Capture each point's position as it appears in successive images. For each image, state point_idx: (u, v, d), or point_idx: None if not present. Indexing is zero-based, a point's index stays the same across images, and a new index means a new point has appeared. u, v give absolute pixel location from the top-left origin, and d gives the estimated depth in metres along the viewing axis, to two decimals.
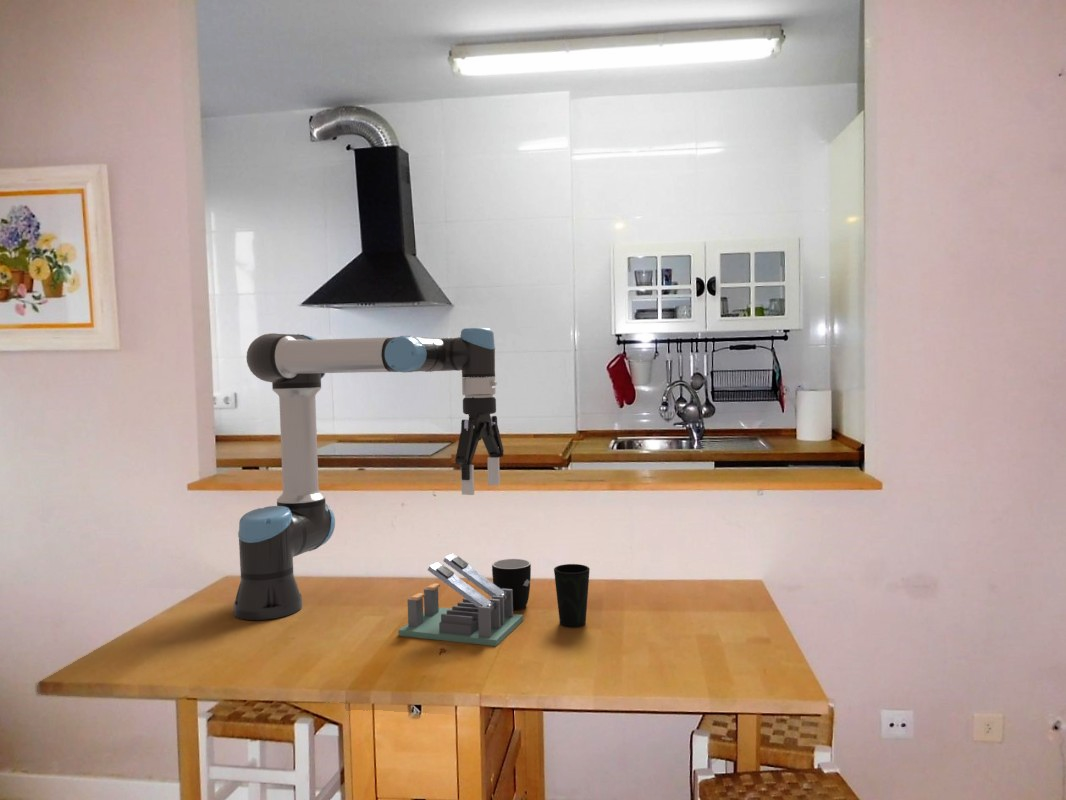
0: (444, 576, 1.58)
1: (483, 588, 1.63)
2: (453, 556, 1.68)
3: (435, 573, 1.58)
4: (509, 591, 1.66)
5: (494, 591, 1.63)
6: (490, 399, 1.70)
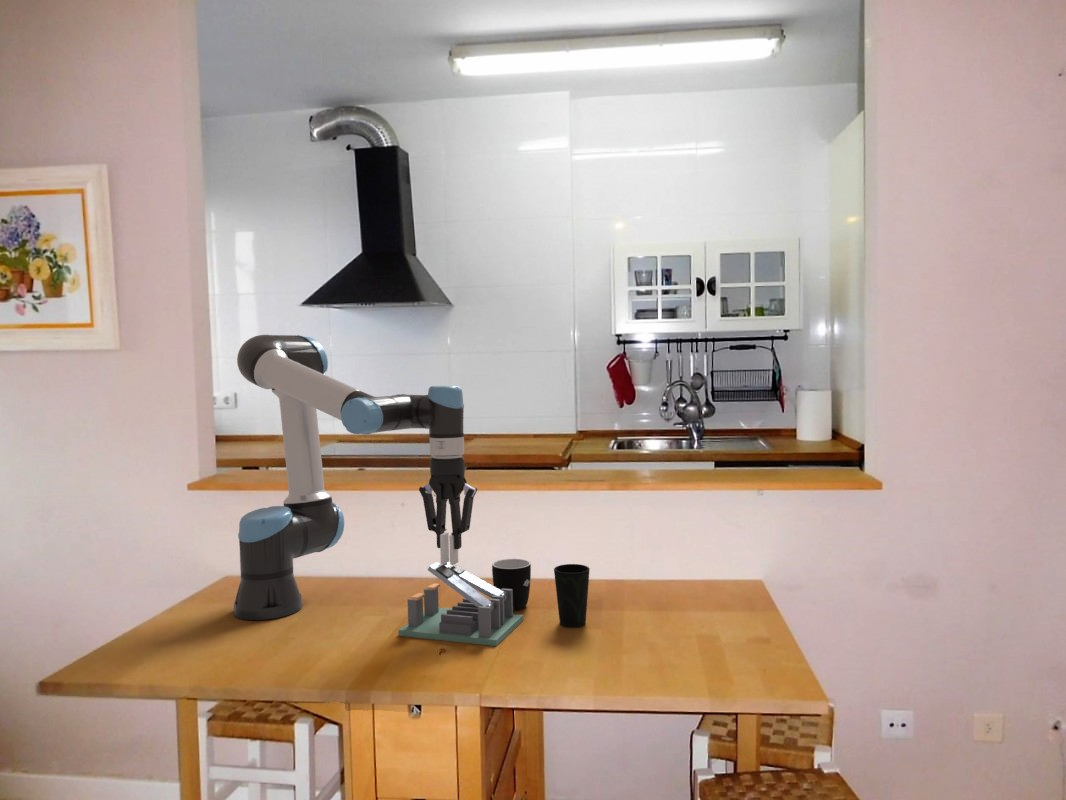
0: (444, 576, 1.58)
1: (482, 590, 1.63)
2: (449, 564, 1.69)
3: (435, 573, 1.58)
4: (509, 591, 1.66)
5: (493, 592, 1.63)
6: (434, 461, 1.64)
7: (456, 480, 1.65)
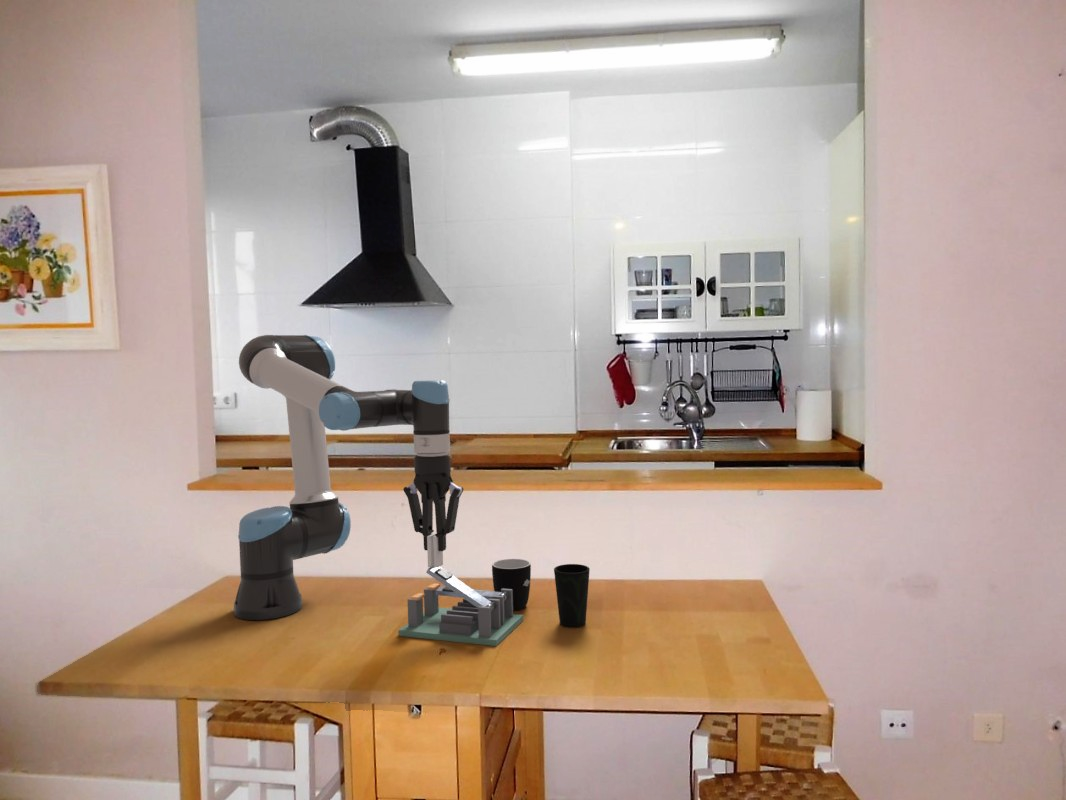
0: (443, 578, 1.58)
1: None
2: (444, 587, 1.69)
3: (434, 575, 1.59)
4: (509, 591, 1.66)
5: (492, 595, 1.64)
6: (419, 459, 1.57)
7: (442, 479, 1.58)
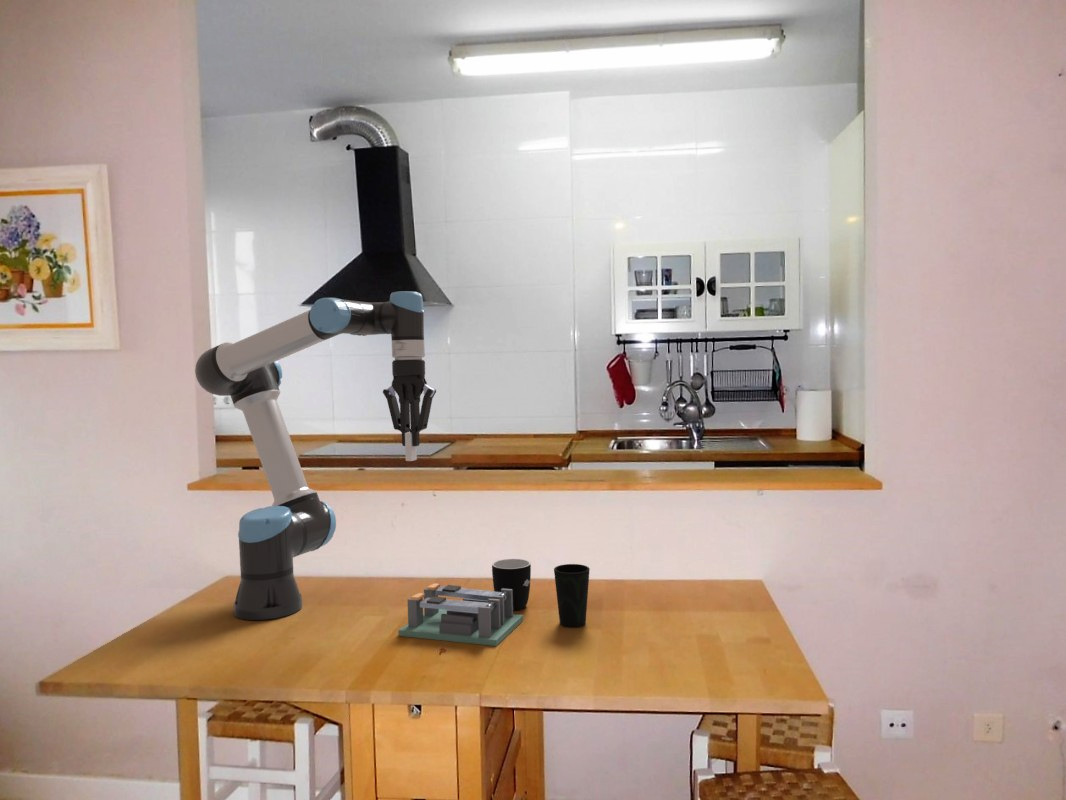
0: (436, 603, 1.59)
1: (481, 598, 1.64)
2: (444, 587, 1.69)
3: (427, 605, 1.59)
4: (509, 591, 1.66)
5: (492, 595, 1.64)
6: (396, 361, 1.74)
7: (417, 380, 1.75)
